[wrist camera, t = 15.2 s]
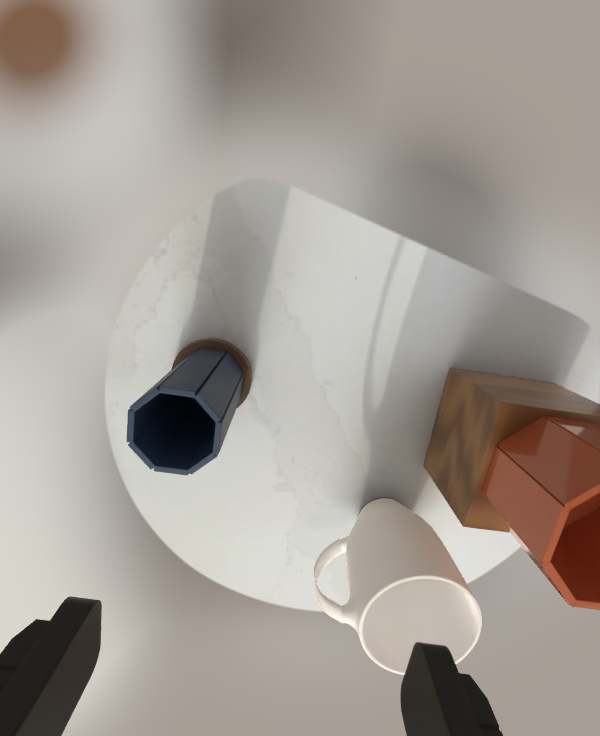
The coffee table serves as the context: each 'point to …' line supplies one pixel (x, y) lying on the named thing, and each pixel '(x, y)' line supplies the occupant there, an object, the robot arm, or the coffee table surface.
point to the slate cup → (186, 413)
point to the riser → (488, 433)
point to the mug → (401, 587)
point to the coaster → (226, 347)
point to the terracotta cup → (553, 501)
